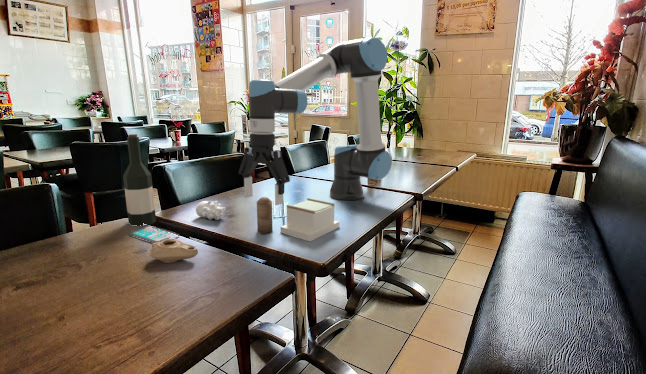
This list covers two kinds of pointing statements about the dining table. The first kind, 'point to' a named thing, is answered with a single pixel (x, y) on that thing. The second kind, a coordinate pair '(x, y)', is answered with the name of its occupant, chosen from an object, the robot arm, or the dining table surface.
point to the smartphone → (151, 235)
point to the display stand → (310, 219)
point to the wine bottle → (138, 187)
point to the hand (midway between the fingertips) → (263, 200)
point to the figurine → (210, 210)
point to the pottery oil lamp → (172, 250)
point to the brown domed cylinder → (264, 215)
